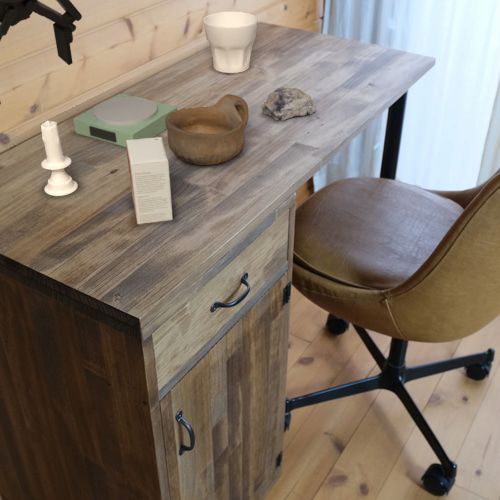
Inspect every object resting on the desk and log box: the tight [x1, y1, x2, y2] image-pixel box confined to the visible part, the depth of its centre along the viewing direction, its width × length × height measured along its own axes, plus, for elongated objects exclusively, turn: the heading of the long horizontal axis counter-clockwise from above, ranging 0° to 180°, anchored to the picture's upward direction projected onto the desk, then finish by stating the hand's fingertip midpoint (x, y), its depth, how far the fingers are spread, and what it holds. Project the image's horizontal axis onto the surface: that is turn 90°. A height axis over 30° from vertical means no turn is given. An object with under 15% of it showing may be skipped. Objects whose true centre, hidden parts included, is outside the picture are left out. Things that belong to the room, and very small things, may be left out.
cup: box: [202, 10, 259, 74], centre depth 149 cm, size 12×12×11 cm
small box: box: [125, 136, 174, 225], centre depth 98 cm, size 8×6×10 cm
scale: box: [72, 93, 178, 148], centre depth 124 cm, size 14×14×4 cm
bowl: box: [165, 93, 249, 166], centre depth 115 cm, size 18×14×10 cm
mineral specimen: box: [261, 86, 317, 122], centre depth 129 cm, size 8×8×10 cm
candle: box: [40, 119, 79, 197], centre depth 103 cm, size 5×5×12 cm
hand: (30, 79), depth 102 cm, fingers open, 13 cm apart
